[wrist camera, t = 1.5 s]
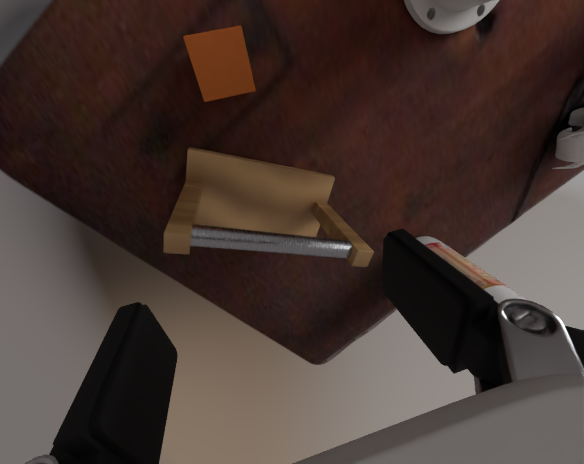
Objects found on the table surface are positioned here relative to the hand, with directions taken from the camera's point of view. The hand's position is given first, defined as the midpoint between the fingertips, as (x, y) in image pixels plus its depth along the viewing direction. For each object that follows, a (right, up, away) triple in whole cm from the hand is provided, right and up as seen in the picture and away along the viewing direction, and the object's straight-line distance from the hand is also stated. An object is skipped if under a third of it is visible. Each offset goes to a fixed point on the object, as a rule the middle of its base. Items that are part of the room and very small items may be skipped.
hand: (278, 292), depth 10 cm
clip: (-6, +17, +13) cm, 22 cm away
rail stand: (-3, +7, +19) cm, 20 cm away
